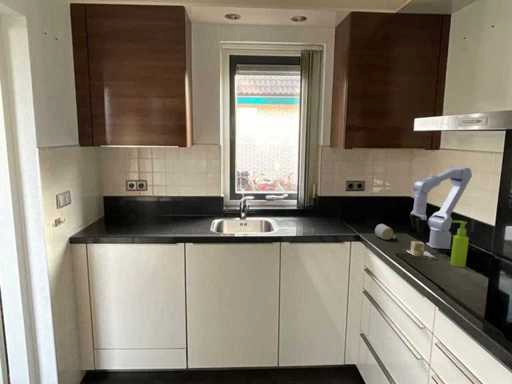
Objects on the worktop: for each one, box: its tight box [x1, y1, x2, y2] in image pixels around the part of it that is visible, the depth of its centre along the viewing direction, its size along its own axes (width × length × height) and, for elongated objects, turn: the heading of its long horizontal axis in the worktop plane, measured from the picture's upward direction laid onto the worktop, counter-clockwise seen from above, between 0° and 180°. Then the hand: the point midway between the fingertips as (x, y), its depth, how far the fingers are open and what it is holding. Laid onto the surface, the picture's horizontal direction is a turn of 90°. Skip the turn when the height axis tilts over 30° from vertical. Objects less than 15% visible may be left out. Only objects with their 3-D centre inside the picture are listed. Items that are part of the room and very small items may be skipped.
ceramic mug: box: [374, 223, 397, 241], centre depth 192 cm, size 11×8×8 cm
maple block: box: [409, 240, 426, 256], centre depth 164 cm, size 4×4×6 cm
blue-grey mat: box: [405, 249, 435, 258], centre depth 165 cm, size 14×12×1 cm
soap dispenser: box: [450, 220, 470, 268], centre depth 151 cm, size 6×7×20 cm
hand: (417, 230), depth 174 cm, fingers open, 7 cm apart
